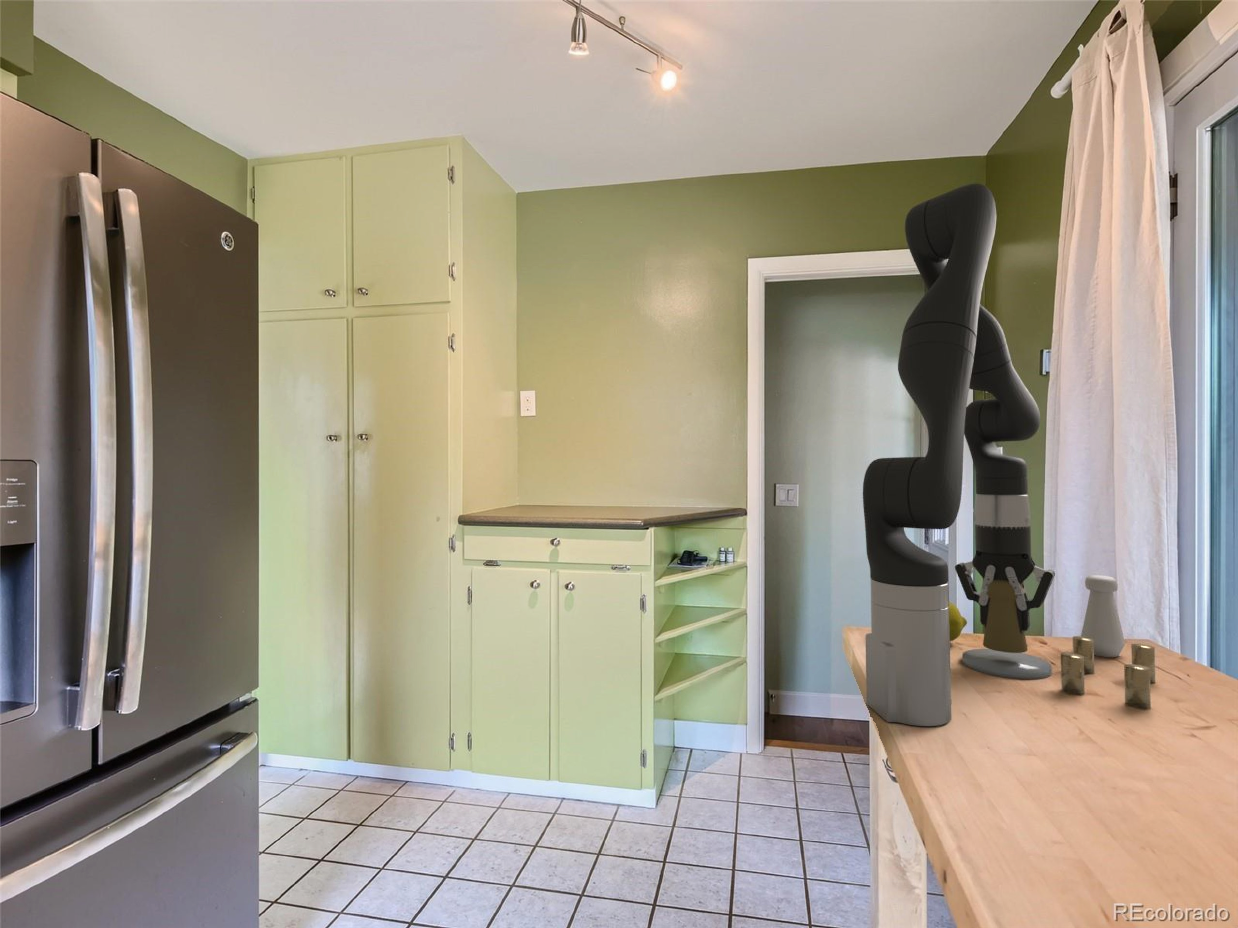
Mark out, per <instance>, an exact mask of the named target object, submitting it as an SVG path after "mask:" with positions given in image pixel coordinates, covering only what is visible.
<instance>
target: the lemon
mask: <svg viewBox="0 0 1238 928" xmlns="http://www.w3.org/2000/svg"><path fill="white" fill-rule="evenodd" d="M967 624H968V621H967V619H966V617H964V616H962V614H961V612H960V610H959V608H958V607H957V605H955V604H954V603H953V602H951V601H949V629H950V642H953V641H955V640H957V638H959V637H960V635H961V633H962V631H963V629H964V628H965V627H966V626H967Z"/></svg>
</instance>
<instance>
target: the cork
mask: <svg viewBox="0 0 1238 928" xmlns="http://www.w3.org/2000/svg"><path fill="white" fill-rule="evenodd" d="M987 585H988V584H987ZM1020 586H1021V589H1023V587H1022V585H1020ZM1015 588H1016V587H1015ZM986 593H987V595H988V596H989V603H988V607H989V610H988V617H987V624H986V629H985V628H984V631H983V632H984V633H983V640H982V641H983V642H982V645H983V646H982V647H984V648H985V649H991V650H995V651H1000V652H1008V653H1026V652H1028V649H1029V648H1028V644H1027V638H1026V631H1025V632H1024V631H1023V634H1021V633H1020V629H1019V624H1018V619H1017V610H1018V606H1017V603H1016V599H1017V595H1016V594H1015V590H1014V588H1013V586H1012V585H1011V584H1010V583H1009V581H1007V580H993V582H991V583H990V584H989V585H988V591H987V592H986Z"/></svg>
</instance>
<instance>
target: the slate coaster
mask: <svg viewBox="0 0 1238 928" xmlns="http://www.w3.org/2000/svg"><path fill="white" fill-rule="evenodd" d="M961 659H962V660H961V661H962V663H963V665H965V666H966V665H967V666H966V667H968V668H969V667H970V668H969V669H972V670H974V671H977V672H980V673H984V674H986V675H987V674H988V675H991V676H995V677H1003V678H1009V679H1016V680H1019V679H1020V680H1040V679H1045V678H1048V677H1050V676H1051V675H1053V666H1052V663H1050V662H1049V661H1047V660H1046V659H1043V658H1041V657H1039V656H1035V655H1031V654H1029V653H1026V652H1022V653H1008V652H1000V651H995V650H991V649H988V648H974V649H969V650H966V651H964V652H963V653H962V658H961Z"/></svg>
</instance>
